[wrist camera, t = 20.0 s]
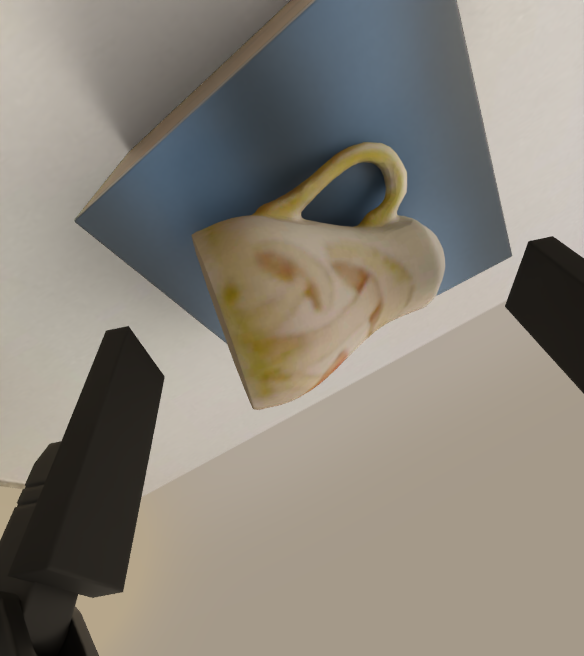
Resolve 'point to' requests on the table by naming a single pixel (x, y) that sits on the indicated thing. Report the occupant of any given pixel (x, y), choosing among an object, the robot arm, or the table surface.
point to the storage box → (206, 88)
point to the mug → (315, 279)
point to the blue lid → (318, 145)
